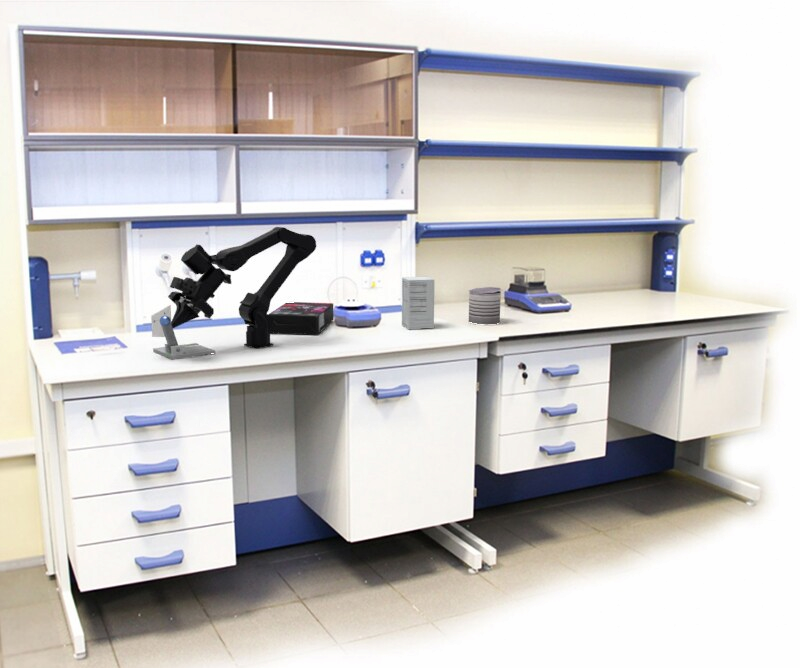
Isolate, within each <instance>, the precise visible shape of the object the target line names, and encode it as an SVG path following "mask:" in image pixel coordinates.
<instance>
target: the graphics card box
mask: <svg viewBox="0 0 800 668" xmlns="http://www.w3.org/2000/svg"><path fill="white" fill-rule="evenodd" d="M293 302H294V303H286V302H285V303H284V304H282V305H280V306H279V307H278V308H276V309H275V310H273V311H271V312H269V313H267V314H268V315H269V316H270V317H271V318H272V319H273V320H274V321H273V324H272V327H270V334H276V333H282V335H283V334H287V335H308V334H313V336H314V335H319V334H320V333H321V332H322V331H323V330H325V328H327V326H328V325H330V324H331V322H333V321H334V320H335V319H334V316H335V315H334V303H332V302H329V303H328V302H303V301H301V302H300V301H299V302H298V301H293Z"/></svg>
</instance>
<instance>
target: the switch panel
mask: <svg viewBox="0 0 800 668" xmlns="http://www.w3.org/2000/svg"><path fill="white" fill-rule="evenodd" d="M152 350H153V353H155V354H157V355H160V356H163V357H164V358H167V359H169V358H170V360H172V359H174V360H179V359H178V358H181V359H186V358H185V357H188V358H193V357H192V356H196V357H199V356H198V355H203V356H206V355H205V354H210V355H212V354H211V353H215V354H216V350H214V349H212V348H209V347H206V346H204V345H201V344H199V343H196V342H192V343H185V344H178V345H177V346H171V351H170V350H169V347H168V344H167V343H164V346H162V347H154V348H152Z"/></svg>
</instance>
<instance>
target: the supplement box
mask: <svg viewBox="0 0 800 668" xmlns="http://www.w3.org/2000/svg"><path fill="white" fill-rule="evenodd" d="M402 325H403V326H402ZM401 326H402V327H404V328H405V327H406V329H407V330H408V329H411V330H421V329H420V328H434V329H435V279H434V278H431V277H430V276H429V277H428V276H403V277H402V278H401Z"/></svg>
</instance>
